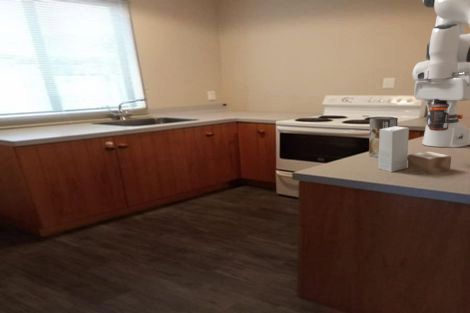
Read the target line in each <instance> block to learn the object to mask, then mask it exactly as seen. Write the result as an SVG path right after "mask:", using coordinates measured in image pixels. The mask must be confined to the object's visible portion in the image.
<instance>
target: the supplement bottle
mask: <svg viewBox="0 0 470 313" xmlns="http://www.w3.org/2000/svg"><path fill="white" fill-rule="evenodd" d="M448 107H449V104H447V100H439V99H434V104H433V105H431V107H430V120H429V129H430V130H434V131H444V130H447V129H448V124H449V114H446V113H445V109H447V108H448Z"/></svg>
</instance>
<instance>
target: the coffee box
mask: <svg viewBox="0 0 470 313" xmlns="http://www.w3.org/2000/svg"><path fill="white" fill-rule="evenodd" d="M398 120H399V119H398V117H382V116H380V117H379V116H375V117H372V118H369V140H368V142H369V144H368V145H369V146H368V147H369V150H368V151H369V152H368V154H369V155H368V156H369V157H374V158H379V135H380V129H384V128H389V127H394V126H398Z"/></svg>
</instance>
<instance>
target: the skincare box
mask: <svg viewBox="0 0 470 313" xmlns="http://www.w3.org/2000/svg"><path fill="white" fill-rule="evenodd" d="M409 132H410V128H409V127H405V126H398V125H397V126H394V127H389V128H384V129H380V135H379V157H378V162H377V163H378V167H377V168H378V169H379V170H382V171H386V172H390V173H393V172H396V171H400V170H403V169H408V155H409V154H408V151H409V134H410V133H409Z"/></svg>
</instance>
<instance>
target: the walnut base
mask: <svg viewBox="0 0 470 313" xmlns="http://www.w3.org/2000/svg"><path fill="white" fill-rule="evenodd" d="M451 163H452V156H451V155H448V154H442V153H438V152H433V151H424V152H423V151H422V152H416V153H411V154H408V155H407V170H412V171H415V172H420V173H422V174H427V175H433V174H439V173H445V172H450V171H451Z"/></svg>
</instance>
